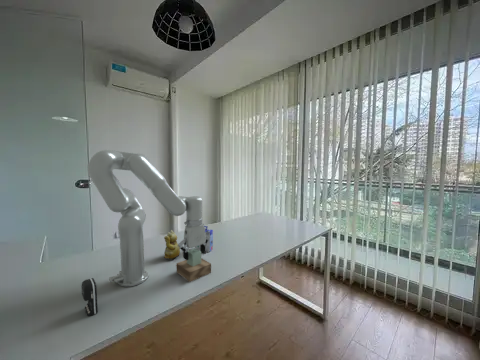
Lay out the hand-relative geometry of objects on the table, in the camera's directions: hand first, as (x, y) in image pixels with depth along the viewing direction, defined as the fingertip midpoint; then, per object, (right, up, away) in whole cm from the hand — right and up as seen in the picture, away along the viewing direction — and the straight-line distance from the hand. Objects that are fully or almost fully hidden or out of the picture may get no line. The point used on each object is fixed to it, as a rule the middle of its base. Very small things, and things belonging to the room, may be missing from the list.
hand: (194, 256), depth 106 cm
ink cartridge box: (0, -6, +27) cm, 27 cm away
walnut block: (0, -9, 0) cm, 9 cm away
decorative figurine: (-16, -7, +16) cm, 23 cm away
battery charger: (-32, -11, -28) cm, 44 cm away
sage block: (0, -3, 0) cm, 3 cm away
